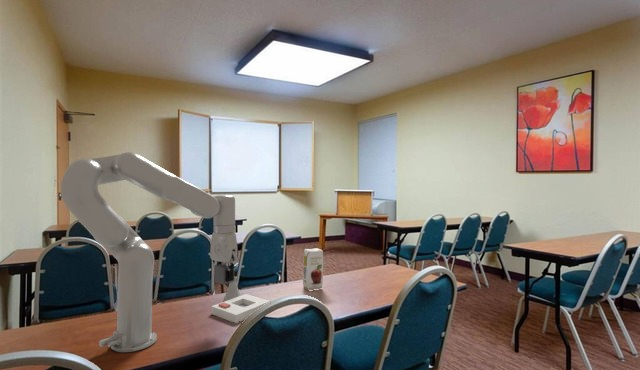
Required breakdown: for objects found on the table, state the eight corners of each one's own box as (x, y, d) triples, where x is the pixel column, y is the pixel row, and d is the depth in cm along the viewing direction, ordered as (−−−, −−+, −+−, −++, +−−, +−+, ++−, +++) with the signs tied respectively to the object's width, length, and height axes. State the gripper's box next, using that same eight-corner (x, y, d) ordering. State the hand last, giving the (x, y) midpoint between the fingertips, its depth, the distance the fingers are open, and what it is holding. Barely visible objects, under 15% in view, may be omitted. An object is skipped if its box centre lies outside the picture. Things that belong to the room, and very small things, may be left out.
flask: (220, 301, 144) (220, 277, 143) (231, 296, 150) (232, 274, 150) (233, 304, 140) (233, 280, 140) (244, 299, 147) (245, 276, 146)
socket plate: (236, 323, 122) (236, 313, 122) (211, 313, 130) (211, 304, 130) (270, 308, 137) (270, 299, 137) (245, 300, 145) (246, 292, 145)
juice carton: (301, 287, 164) (302, 248, 164) (316, 285, 168) (317, 247, 168) (308, 292, 158) (309, 251, 158) (324, 289, 162) (325, 250, 162)
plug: (223, 284, 119) (223, 262, 119) (214, 282, 122) (214, 260, 122) (234, 281, 123) (234, 259, 123) (225, 278, 126) (225, 257, 126)
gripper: (200, 228, 124) (201, 277, 124) (231, 233, 114) (231, 286, 114) (217, 226, 130) (217, 273, 130) (248, 230, 120) (248, 281, 121)
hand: (224, 278), depth 122 cm, fingers closed on plug, 5 cm apart
